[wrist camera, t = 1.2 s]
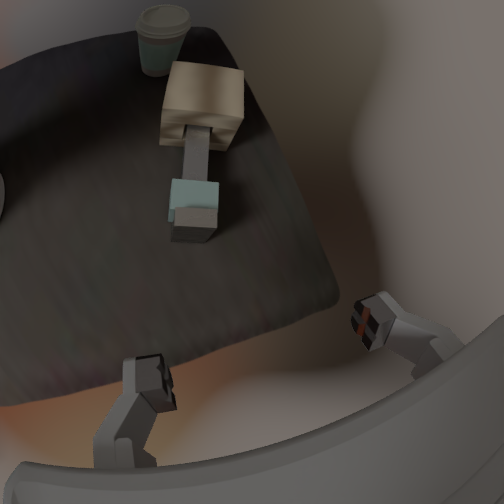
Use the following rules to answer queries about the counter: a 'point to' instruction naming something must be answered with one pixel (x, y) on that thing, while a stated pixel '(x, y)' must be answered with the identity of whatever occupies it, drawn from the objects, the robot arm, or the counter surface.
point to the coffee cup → (161, 37)
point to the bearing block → (202, 103)
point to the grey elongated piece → (195, 168)
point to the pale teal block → (193, 195)
